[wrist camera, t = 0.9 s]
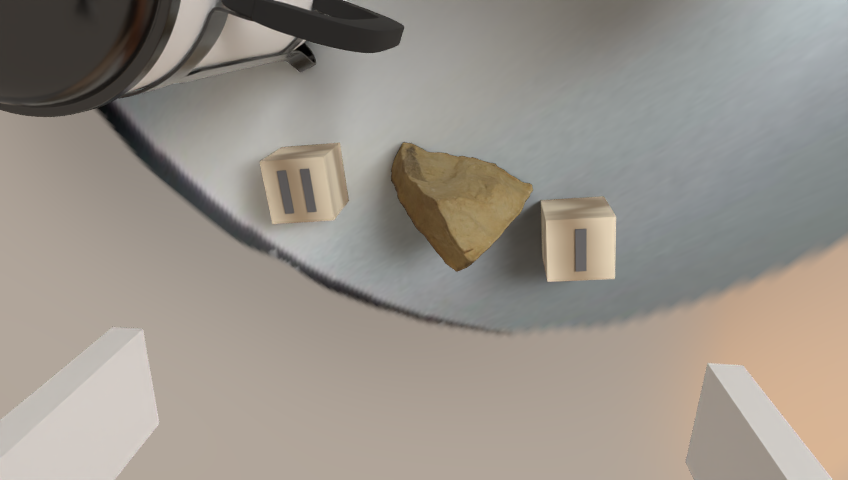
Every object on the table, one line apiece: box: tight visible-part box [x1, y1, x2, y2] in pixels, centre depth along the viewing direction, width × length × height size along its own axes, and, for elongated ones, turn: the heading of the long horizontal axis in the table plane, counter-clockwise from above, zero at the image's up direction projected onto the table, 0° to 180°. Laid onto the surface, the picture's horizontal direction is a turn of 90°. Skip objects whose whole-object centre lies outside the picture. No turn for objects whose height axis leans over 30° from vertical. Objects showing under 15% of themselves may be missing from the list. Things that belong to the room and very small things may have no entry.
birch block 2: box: [541, 196, 616, 282], centre depth 45 cm, size 5×5×5 cm
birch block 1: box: [260, 143, 349, 224], centre depth 46 cm, size 5×5×5 cm
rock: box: [391, 142, 533, 271], centre depth 44 cm, size 11×9×10 cm
